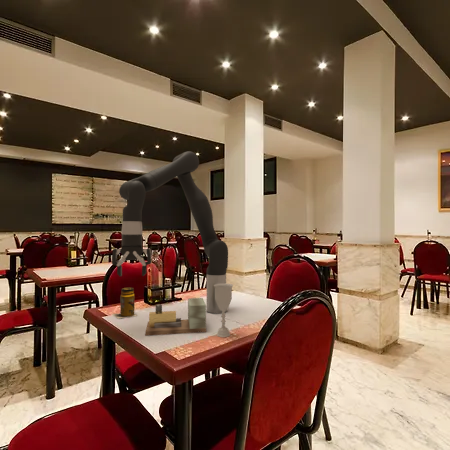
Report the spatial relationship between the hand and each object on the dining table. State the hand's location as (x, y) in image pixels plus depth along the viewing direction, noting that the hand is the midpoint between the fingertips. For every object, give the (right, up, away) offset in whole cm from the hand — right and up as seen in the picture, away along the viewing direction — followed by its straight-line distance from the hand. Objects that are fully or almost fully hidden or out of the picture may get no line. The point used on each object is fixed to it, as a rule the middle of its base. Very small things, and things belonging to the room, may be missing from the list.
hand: (131, 275), depth 117 cm
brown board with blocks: (+17, -21, +2) cm, 27 cm away
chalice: (+35, -21, -5) cm, 41 cm away
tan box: (+12, -19, +1) cm, 22 cm away
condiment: (-9, -21, +20) cm, 30 cm away
